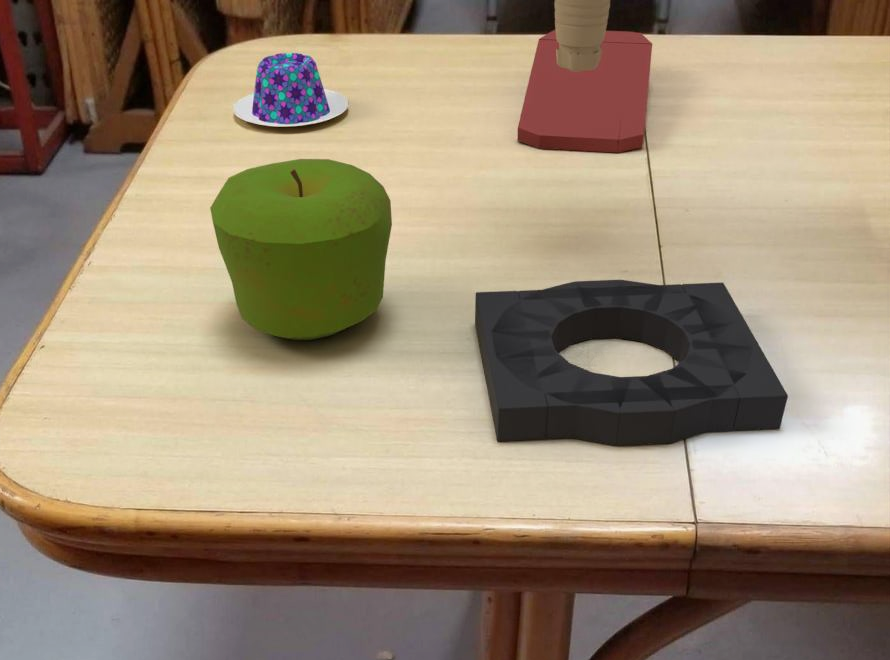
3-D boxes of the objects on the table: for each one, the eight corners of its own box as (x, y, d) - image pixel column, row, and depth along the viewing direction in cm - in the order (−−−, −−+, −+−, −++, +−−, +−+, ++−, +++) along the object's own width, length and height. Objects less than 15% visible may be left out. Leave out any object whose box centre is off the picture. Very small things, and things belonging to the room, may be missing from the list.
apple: (334, 381, 72) (321, 222, 65) (192, 337, 77) (164, 184, 70) (424, 302, 81) (422, 153, 73) (291, 267, 85) (276, 123, 78)
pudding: (333, 136, 107) (329, 82, 103) (218, 130, 108) (210, 76, 105) (360, 96, 115) (357, 44, 112) (253, 91, 117) (247, 40, 114)
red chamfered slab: (637, 187, 105) (648, 67, 121) (643, 140, 101) (654, 22, 117) (514, 180, 107) (541, 62, 122) (516, 134, 103) (543, 18, 119)
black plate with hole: (713, 306, 80) (719, 275, 78) (785, 438, 67) (794, 404, 65) (473, 316, 79) (474, 284, 77) (499, 451, 66) (500, 418, 64)
